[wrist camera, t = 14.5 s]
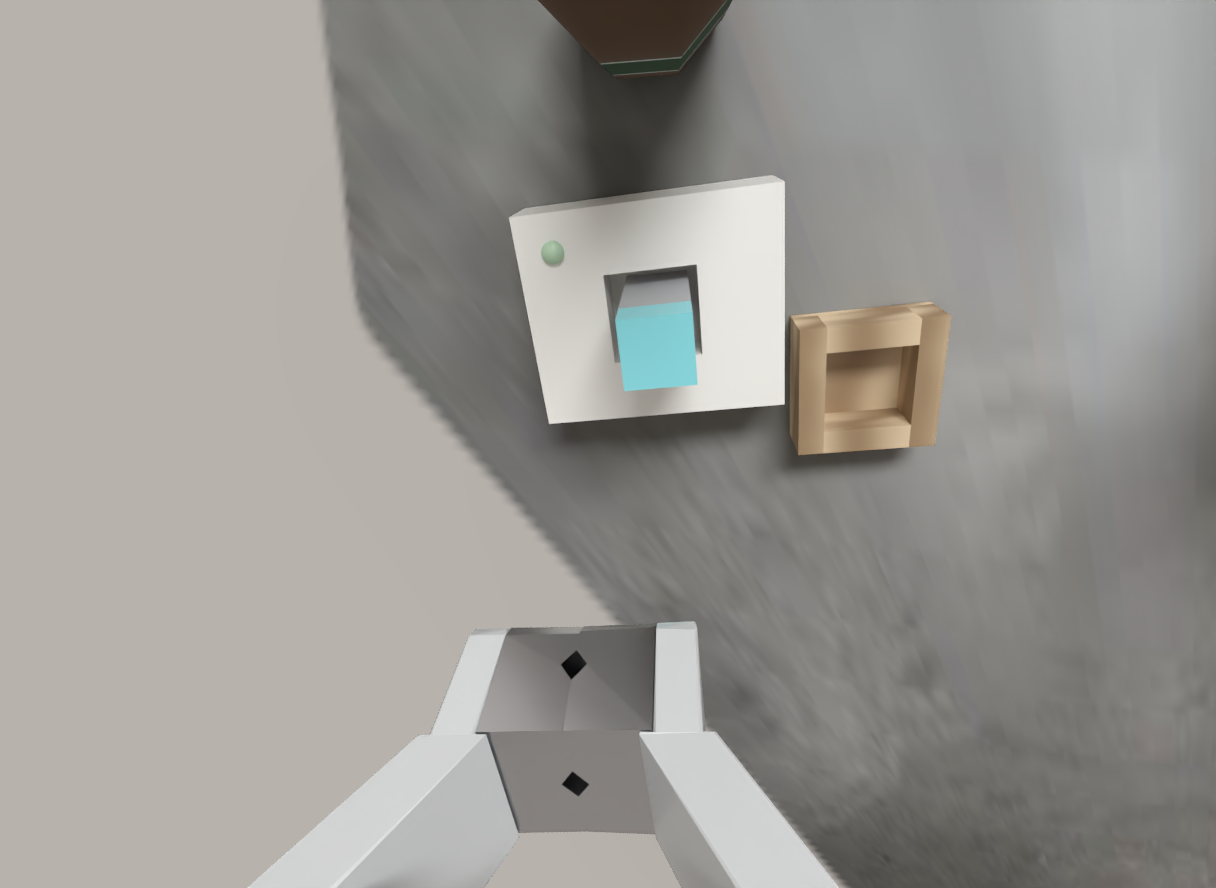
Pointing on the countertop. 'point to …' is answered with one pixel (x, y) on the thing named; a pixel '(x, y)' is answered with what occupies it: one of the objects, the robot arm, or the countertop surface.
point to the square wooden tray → (867, 377)
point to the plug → (656, 332)
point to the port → (644, 244)
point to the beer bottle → (639, 31)
